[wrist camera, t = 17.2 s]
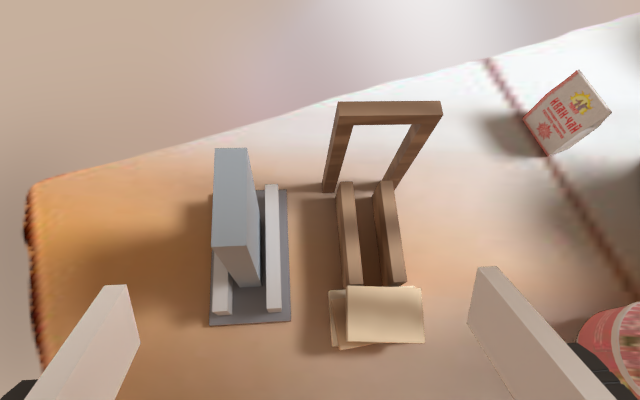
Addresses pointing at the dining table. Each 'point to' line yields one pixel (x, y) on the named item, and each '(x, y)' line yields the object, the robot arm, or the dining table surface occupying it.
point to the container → (616, 342)
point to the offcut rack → (370, 301)
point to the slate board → (236, 217)
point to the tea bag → (566, 114)
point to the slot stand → (275, 291)
